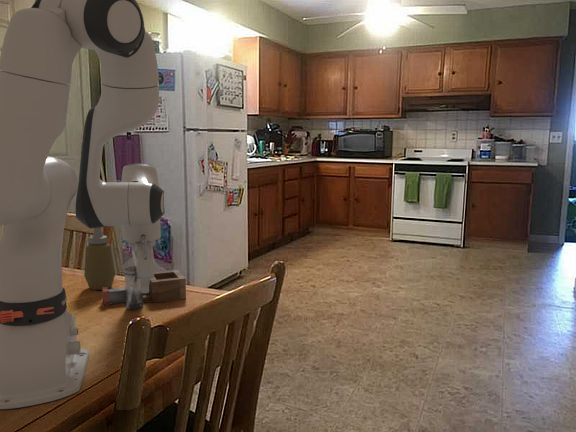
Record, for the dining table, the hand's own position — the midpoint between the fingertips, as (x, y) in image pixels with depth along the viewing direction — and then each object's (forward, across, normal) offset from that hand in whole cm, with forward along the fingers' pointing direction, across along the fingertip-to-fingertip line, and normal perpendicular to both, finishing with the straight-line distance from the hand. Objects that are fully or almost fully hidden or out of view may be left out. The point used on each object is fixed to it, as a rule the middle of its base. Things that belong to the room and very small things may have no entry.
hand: (143, 286), depth 125 cm
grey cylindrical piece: (+6, +2, +2) cm, 6 cm away
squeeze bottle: (+6, +21, +10) cm, 24 cm away
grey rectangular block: (+6, +7, +5) cm, 11 cm away
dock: (+6, +8, -4) cm, 11 cm away
